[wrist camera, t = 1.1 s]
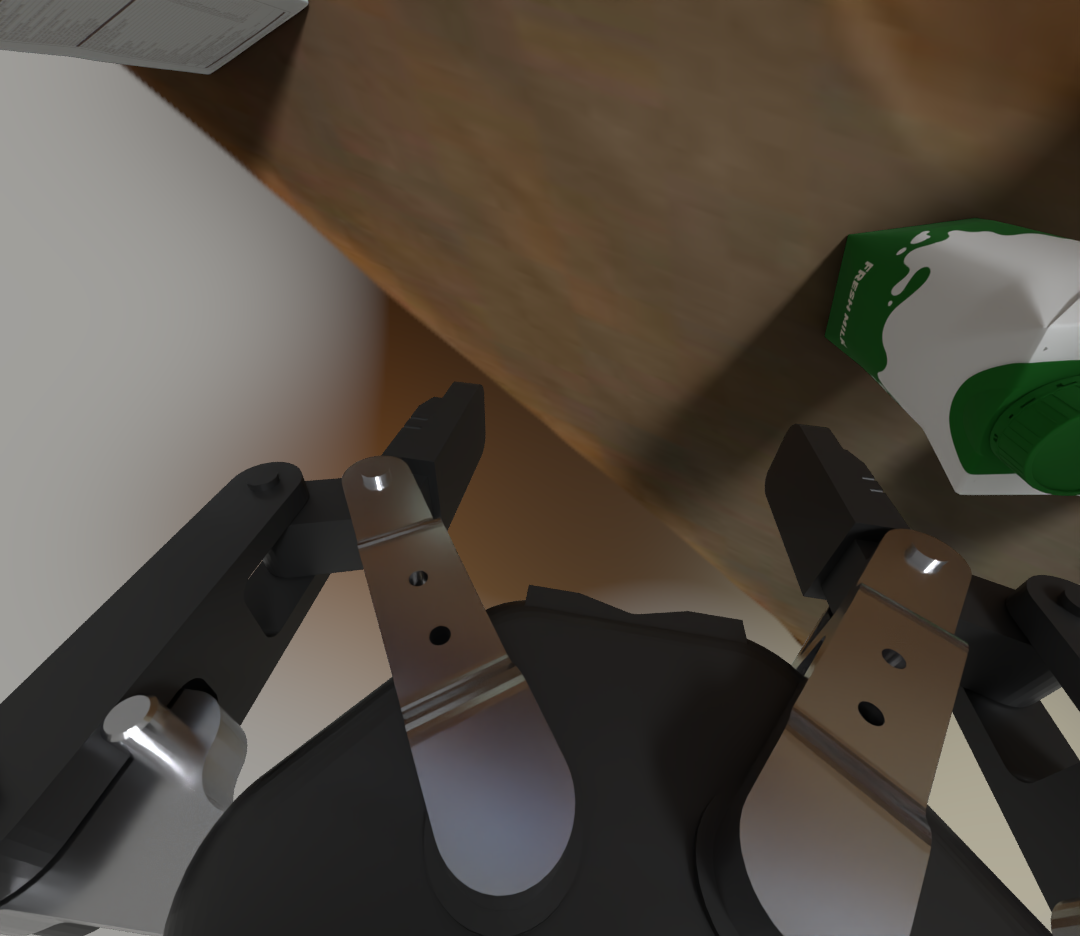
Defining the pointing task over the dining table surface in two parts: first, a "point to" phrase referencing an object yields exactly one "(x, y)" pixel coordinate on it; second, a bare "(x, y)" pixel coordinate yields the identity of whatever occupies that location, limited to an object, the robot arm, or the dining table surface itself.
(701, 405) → the dining table surface
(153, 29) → the supplement box
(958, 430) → the milk carton
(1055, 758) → the robot arm
